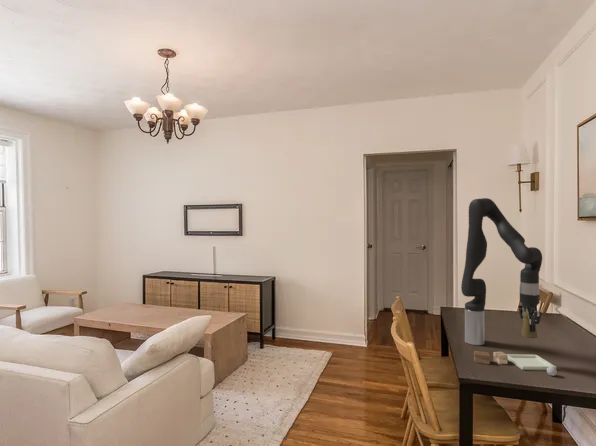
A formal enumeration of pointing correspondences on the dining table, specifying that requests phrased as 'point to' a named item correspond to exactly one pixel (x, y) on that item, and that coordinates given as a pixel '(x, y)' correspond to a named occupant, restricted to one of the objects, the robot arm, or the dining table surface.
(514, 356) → the tray
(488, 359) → the walnut block
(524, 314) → the cork
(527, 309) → the robot arm
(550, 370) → the grey ball
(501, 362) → the maple block
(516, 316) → the dining table surface
